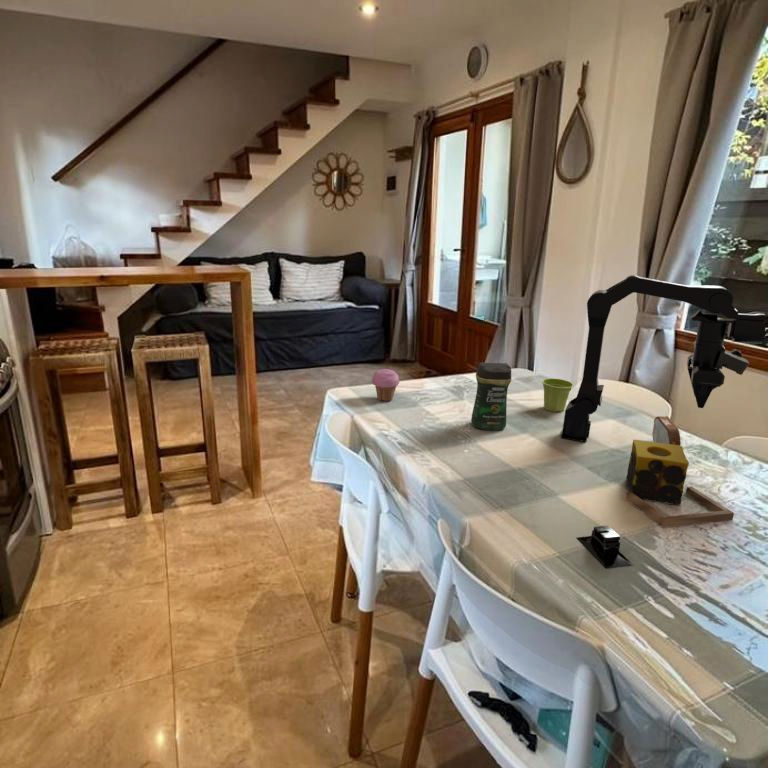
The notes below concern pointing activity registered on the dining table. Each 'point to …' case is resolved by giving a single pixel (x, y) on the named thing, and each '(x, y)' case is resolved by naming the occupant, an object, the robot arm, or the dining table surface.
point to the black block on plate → (605, 547)
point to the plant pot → (556, 393)
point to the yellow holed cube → (657, 471)
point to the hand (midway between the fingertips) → (698, 402)
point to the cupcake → (385, 383)
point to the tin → (665, 431)
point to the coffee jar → (491, 396)
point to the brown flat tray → (717, 515)
